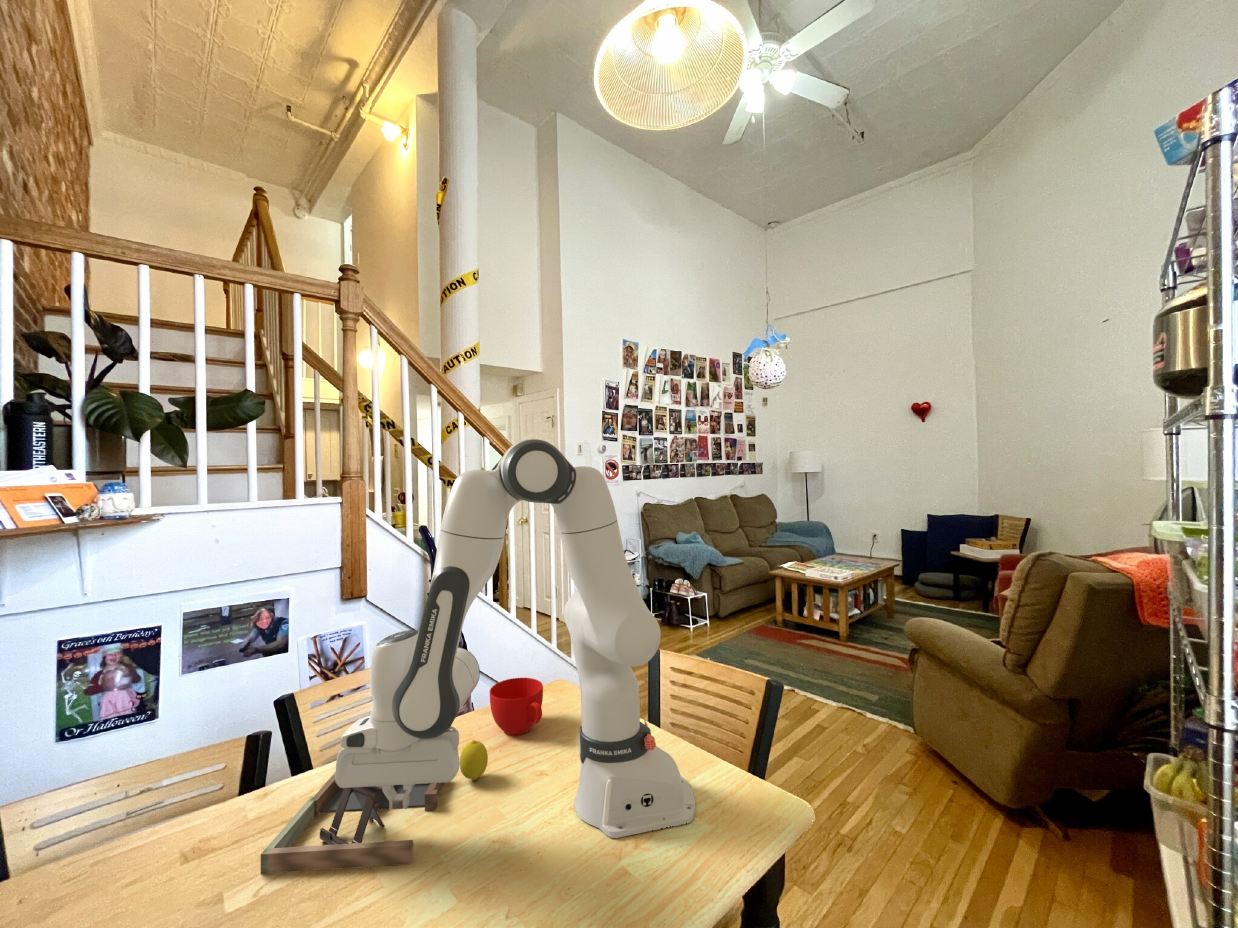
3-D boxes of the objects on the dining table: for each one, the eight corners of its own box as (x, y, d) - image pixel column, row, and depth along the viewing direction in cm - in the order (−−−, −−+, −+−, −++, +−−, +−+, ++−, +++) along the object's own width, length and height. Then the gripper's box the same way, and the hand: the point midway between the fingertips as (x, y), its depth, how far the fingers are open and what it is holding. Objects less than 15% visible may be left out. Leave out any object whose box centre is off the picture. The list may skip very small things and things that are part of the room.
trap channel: (449, 779, 104) (449, 765, 104) (410, 863, 81) (410, 844, 81) (333, 786, 102) (333, 771, 102) (260, 873, 80) (260, 854, 80)
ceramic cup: (516, 755, 112) (515, 710, 113) (480, 728, 125) (479, 687, 125) (563, 734, 121) (562, 692, 121) (525, 711, 134) (525, 673, 134)
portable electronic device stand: (318, 841, 87) (318, 792, 87) (362, 815, 93) (362, 769, 94) (348, 860, 82) (347, 808, 82) (392, 831, 89) (391, 782, 89)
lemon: (480, 789, 100) (479, 748, 100) (454, 786, 101) (454, 746, 102) (492, 773, 106) (492, 734, 106) (468, 770, 107) (467, 732, 107)
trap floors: (438, 783, 102) (438, 782, 102) (426, 806, 95) (426, 804, 95) (339, 789, 101) (339, 787, 101) (320, 812, 94) (320, 810, 94)
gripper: (463, 715, 92) (464, 792, 92) (348, 720, 91) (348, 798, 91) (453, 732, 86) (455, 815, 86) (330, 738, 85) (330, 822, 84)
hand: (399, 807), depth 88 cm, fingers closed
